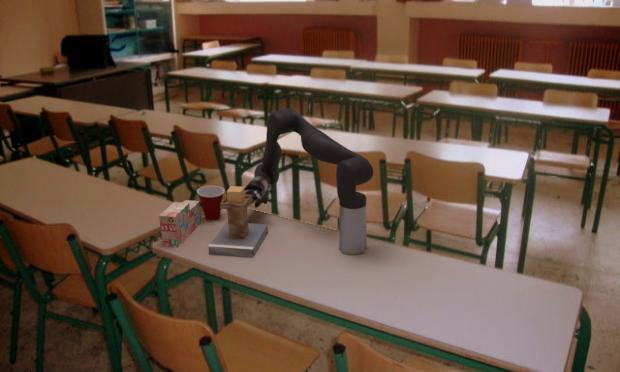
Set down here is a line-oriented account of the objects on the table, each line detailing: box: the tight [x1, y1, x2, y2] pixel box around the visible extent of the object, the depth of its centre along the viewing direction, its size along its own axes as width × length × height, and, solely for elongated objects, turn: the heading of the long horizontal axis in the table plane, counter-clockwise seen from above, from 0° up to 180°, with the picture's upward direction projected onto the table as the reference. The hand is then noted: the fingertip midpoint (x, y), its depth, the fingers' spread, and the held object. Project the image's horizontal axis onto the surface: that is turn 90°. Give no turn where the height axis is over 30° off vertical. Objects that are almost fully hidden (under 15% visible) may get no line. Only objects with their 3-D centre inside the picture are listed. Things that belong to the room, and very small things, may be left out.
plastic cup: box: [196, 184, 225, 221], centre depth 220 cm, size 11×11×12 cm
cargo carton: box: [226, 185, 246, 204], centre depth 195 cm, size 5×5×5 cm
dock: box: [207, 221, 269, 258], centre depth 201 cm, size 16×20×3 cm
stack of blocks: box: [158, 199, 203, 248], centre depth 208 cm, size 21×6×12 cm, turn 167°
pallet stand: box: [220, 195, 253, 239], centre depth 198 cm, size 9×9×14 cm
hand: (244, 204), depth 206 cm, fingers open, 8 cm apart
